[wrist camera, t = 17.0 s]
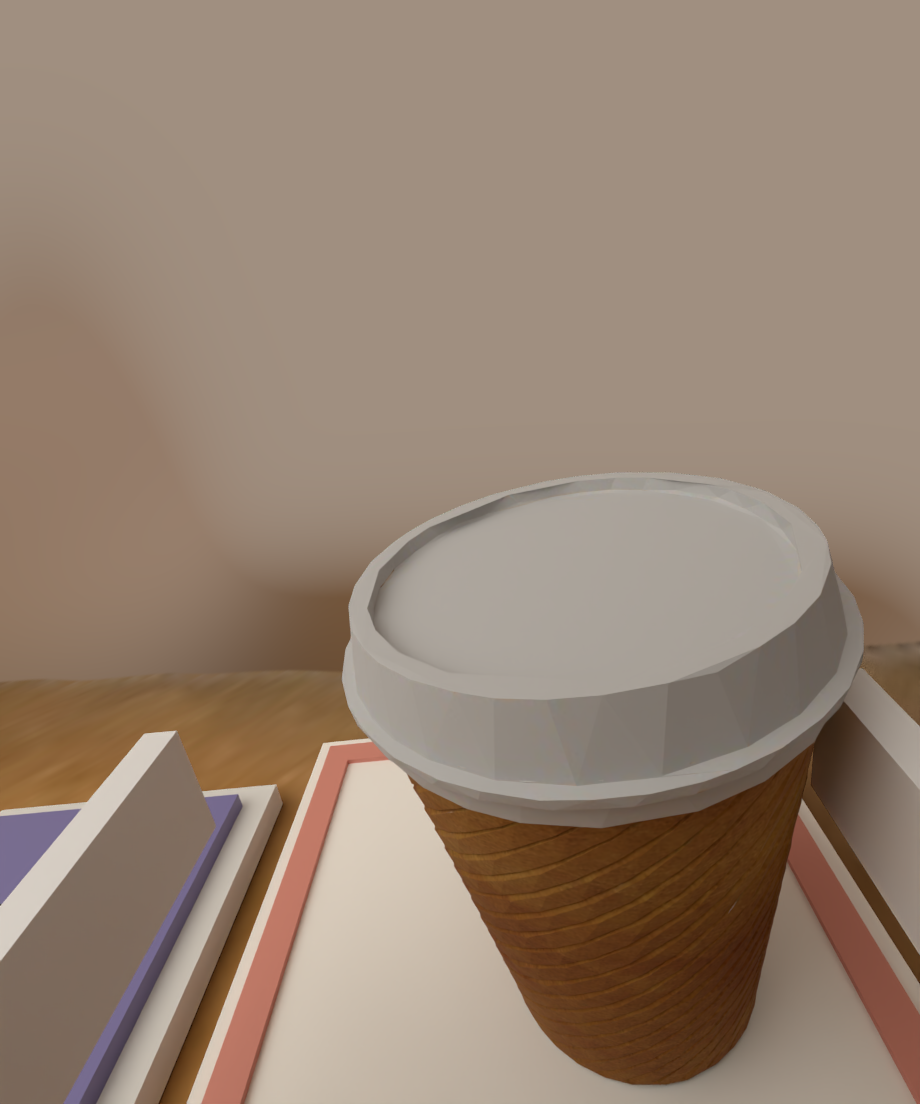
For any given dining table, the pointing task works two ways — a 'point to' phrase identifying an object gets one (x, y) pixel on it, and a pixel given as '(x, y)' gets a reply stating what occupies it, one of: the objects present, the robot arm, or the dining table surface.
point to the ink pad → (157, 939)
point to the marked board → (491, 992)
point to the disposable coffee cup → (612, 738)
